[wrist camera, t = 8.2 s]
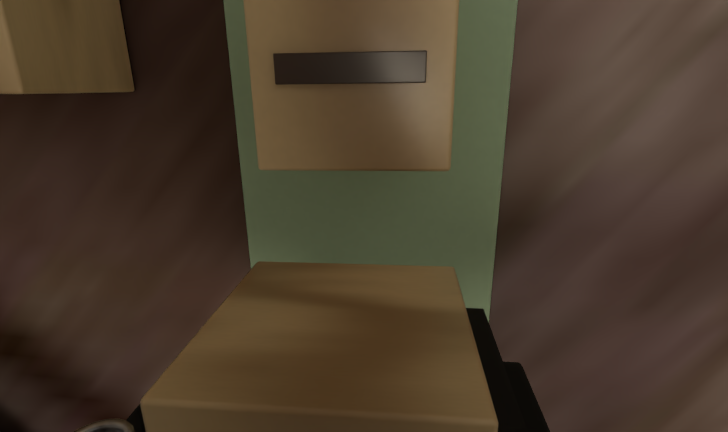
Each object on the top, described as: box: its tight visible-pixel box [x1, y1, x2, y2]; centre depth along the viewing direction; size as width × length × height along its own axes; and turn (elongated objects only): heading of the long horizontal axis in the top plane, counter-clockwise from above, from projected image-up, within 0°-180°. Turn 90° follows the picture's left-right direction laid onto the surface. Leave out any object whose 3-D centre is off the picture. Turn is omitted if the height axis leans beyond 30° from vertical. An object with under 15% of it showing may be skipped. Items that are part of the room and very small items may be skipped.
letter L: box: [140, 261, 499, 432], centre depth 9 cm, size 5×5×5 cm
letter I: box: [243, 0, 459, 171], centre depth 12 cm, size 5×5×5 cm
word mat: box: [223, 0, 518, 322], centre depth 15 cm, size 10×22×1 cm, turn 1°
